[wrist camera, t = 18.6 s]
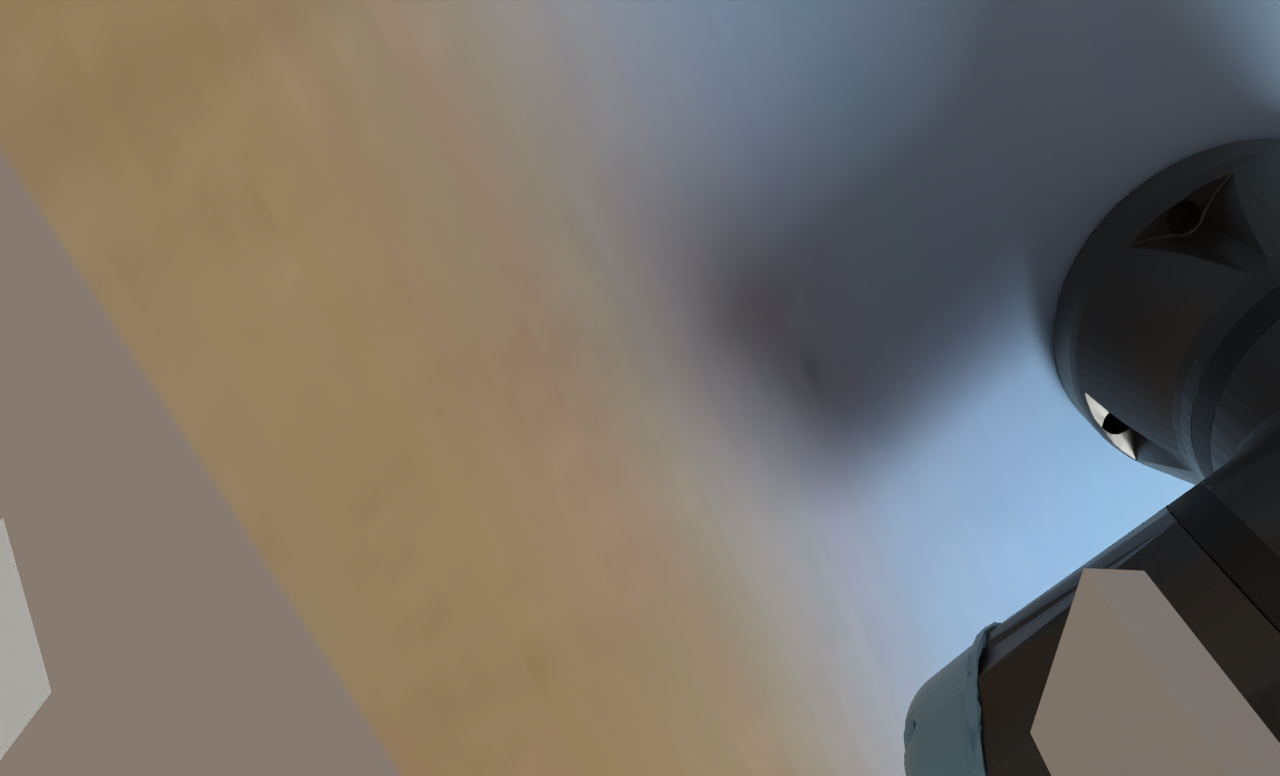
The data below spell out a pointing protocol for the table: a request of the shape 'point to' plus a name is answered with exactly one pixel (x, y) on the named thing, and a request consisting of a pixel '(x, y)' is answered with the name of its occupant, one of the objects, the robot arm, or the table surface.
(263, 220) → the table surface
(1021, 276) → the table surface
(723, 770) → the table surface
